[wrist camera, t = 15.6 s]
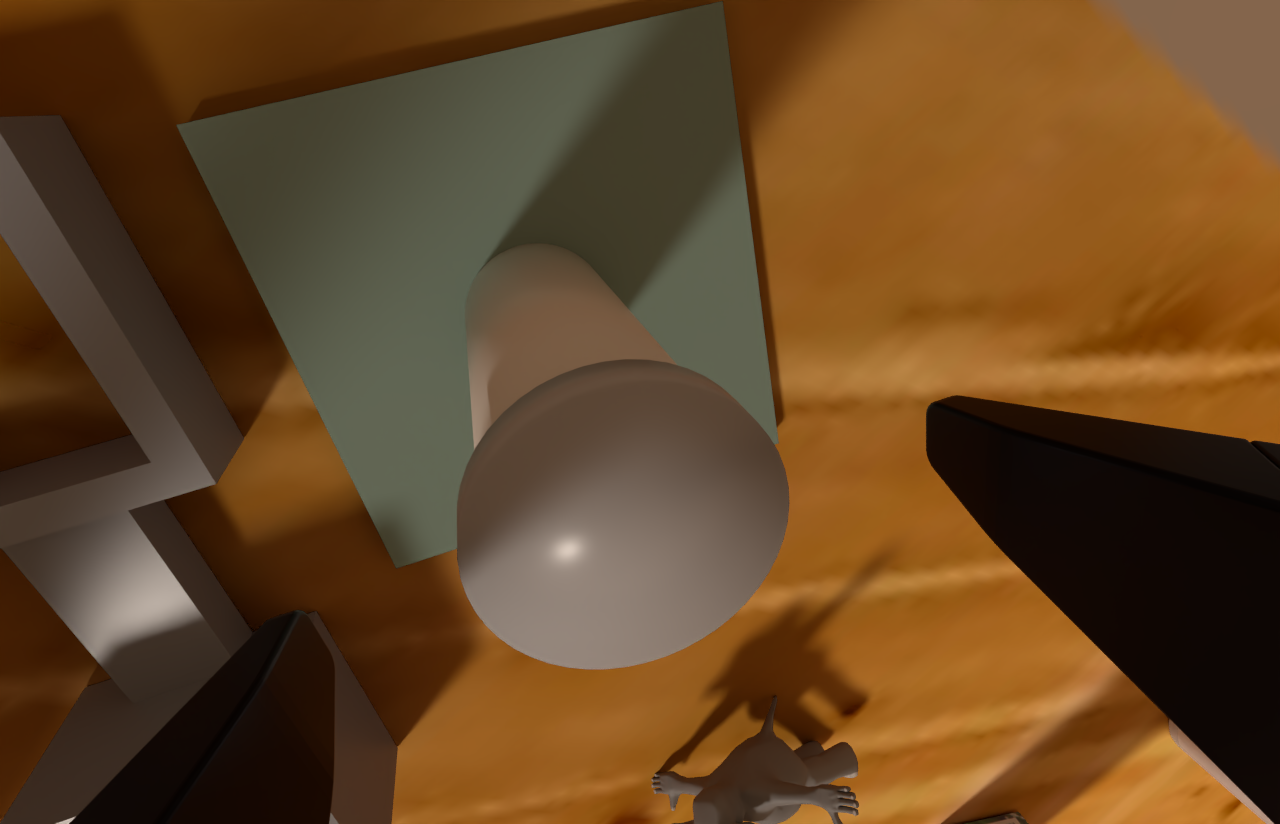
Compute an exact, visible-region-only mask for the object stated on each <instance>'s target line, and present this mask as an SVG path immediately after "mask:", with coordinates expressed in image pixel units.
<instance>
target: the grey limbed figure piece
mask: <svg viewBox="0 0 1280 824" xmlns="http://www.w3.org/2000/svg"><path fill="white" fill-rule="evenodd" d="M776 703H777V697H776V696H774V698H773V700H772V703H771V706H770V709H769V711H768V714H767V717H766V719H765V722H764V724H763V727H762V729H761V731H760V732H759V733H758V734H756V735H755V736H754V737H751V738H748V739H747V740H745V741H744V742H743V743H741V744H740V745H738V746H737V747H736V748H735V749H734V750H733V751H732V752H731V753H730V755H729V756H728V757H727V758H726V759H725V760H724V761H723V762H722V764H721V765H720V766H719V767H718V768H717V769H715V770H714V772H713V773H711V774H710V775H708V776H704V777H695V778H686V777H683V776H681V775H679V774H677V773H675V772H673V771H669V772H662V773H656V774H655V776H656V777H654V778H652V782H655V781H659V782H657V783H656V782H655V783H653V784H652V788H655V787H660V788H657V789H655V790H654V793H655V794H657V793H664V794H668V795H669V798H670V806H671V809H672V811H674V810H675V807H676V804H677V801H678V797H679V796H680V794H682V793H684V794H691V795H696V797H695V799H694V801H693V813H694V820H691V821H688V822H684V823H673V824H754V823H751V822H755V823H760V824H777V823H780V822H783V821H786V820H787V819H788V818H790V817H791V816H793V815H794V814H795V813H796V812H797V811H798V810H799V808H800V806H801V804H813V805H816V806H820V807H822V808H824V809H825V810H827V811H828V813H829V814H830V816H831V818H832V820H833V823H834V824H843V823H842V822H841V820H840V819H839V816H838V812H843V813H850V814H853V815H856V816H857V815H858V810H857V809H855V808H858V807H859V803H858V801H856V800H855V799H856V795H855V793H853V792H849V791H850V790H851V788H850V787H848V786H836V785H831V784H829V783H831V782H832V781H834V780H835V779H837V778H840V777H848V778H853V777H856V776H857V775H858V762H857V758H856V755H855V753H854V751H853V749H852V748H851V746H850V745H849V744H848V743H846V742H840V743H838V744H836V745H834V746H832V747H831V748H829V749H827V750H825V751H824V749H823V748H822V746H821V745H820V744H819V743H818V742H817V741H810V742H808V743H806V744H804V745H802V746H801V747H799V748H797V749H796V750H794V751H793V750H792V749H791V748H790V747H789V746H788V745H787V744H786V743H785V742H784V741H783V740H781V739H780V738H778V737H776V735H775V734H774V732H773V717H774V711H775V707H776ZM658 776H659V777H658ZM845 798H851V799H845ZM841 805H848V806H853V807H854V808H852V807H847V806H841ZM743 821H749V822H743ZM742 822H743V823H742Z"/></svg>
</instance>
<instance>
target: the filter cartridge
mask: <svg viewBox="0 0 1280 824" xmlns="http://www.w3.org/2000/svg"><path fill="white" fill-rule="evenodd" d="M465 326H466V340H467V354H468V369H469V383H470V397H471V411H472V426H473V440H474V452H473V454H472V456H471V458H470V460H469V462H468V464H467V466H466V469H465V472H464V475H463V478H462V481H461V484H460V489H459V495H458V501H457V560H458V566H459V572H460V578H461V581H462V584H463V587H464V590H465V593H466V596H467V597H468V599H469V601H470V603H471V605H472V607H473V608H474V610H475V612H476V613H477V615H478V616H479V617H480V618H481V620H482V621H483V622H484V624H485V625H486V626H487V627H488V628H489V629H490V630H491V631H492V632H493V633H494V634H495V635H497V636H498V637H499V638H500V639H501V640H503V641H504V642H506V643H507V644H508V645H510V646H511V647H513V648H514V649H516V650H518V651H520V652H522V653H524V654H526V655H528V656H530V657H532V658H535V659H538V660H541V661H544V662H547V663H550V664H555V665H559V666H564V667H569V668H579V669H612V668H621V667H628V666H633V665H638V664H642V663H647V662H650V661H653V660H656V659H659V658H662V657H665V656H668V655H670V654H673V653H675V652H677V651H680V650H682V649H684V648H686V647H688V646H690V645H692V644H693V643H695V642H697V641H699V640H701V639H702V638H704V637H705V636H707V635H708V634H710V633H711V632H713V631H715V630H716V629H717V628H719V627H720V626H721V625H722V624H724V623H725V622H726V621H727V620H729V619H730V618H731V617H732V616H733V615H734V614H735V613H736V612H737V611H738V610H739V609H740V608H741V607H742V606H743V605H745V604H746V602H747V601H748V600H749V599H750V598H751V596H752V595H753V594H754V593H755V592H756V590H757V589H758V588H759V586H760V585H761V583H762V582H763V580H764V579H765V577H766V576H767V574H768V573H769V571H770V569H771V567H772V565H773V563H774V561H775V559H776V557H777V555H778V553H779V550H780V547H781V545H782V542H783V539H784V535H785V531H786V526H787V522H788V512H789V488H788V482H787V477H786V472H785V468H784V465H783V463H782V460H781V457H780V455H779V452H778V451H777V449H776V447H775V445H774V444H773V442H772V440H771V438H770V437H769V435H768V434H767V433H766V432H765V431H764V429H763V428H762V427H761V426H760V424H759V423H758V422H757V421H756V420H755V419H754V418H753V417H752V416H751V415H750V414H749V413H748V412H747V411H746V410H745V409H744V408H743V407H742V406H741V405H740V404H739V402H738V401H737V400H736V399H735V398H733V397H732V396H731V395H730V394H729V393H728V392H727V391H726V390H724V389H723V388H722V387H721V386H719V385H718V384H716V383H715V382H713V381H712V380H710V379H709V378H707V377H705V376H703V375H701V374H699V373H697V372H695V371H692V370H690V369H688V368H685V367H681V366H678V365H677V364H676V363H675V362H674V361H673V360H672V358H671V357H670V356H669V355H668V354H667V353H666V352H665V350H664V349H663V348H662V347H661V346H660V345H659V344H658V342H657V341H656V340H655V339H654V338H653V337H652V336H651V334H650V333H649V332H648V331H647V330H646V329H645V328H644V326H643V325H642V324H641V323H640V322H639V321H638V320H637V318H636V317H635V316H634V315H633V314H632V313H631V312H630V310H629V309H628V308H627V307H626V306H625V305H624V304H623V302H622V301H621V300H620V299H619V298H618V297H617V296H616V294H615V293H614V292H613V291H612V290H611V289H610V288H609V286H608V285H607V284H606V283H605V282H604V281H603V280H602V278H601V277H600V276H599V275H598V274H597V273H596V272H595V270H594V269H593V268H592V267H591V266H590V265H589V264H588V263H587V262H586V261H585V260H584V259H583V258H581V257H580V256H578V255H577V254H575V253H573V252H571V251H569V250H567V249H565V248H562V247H559V246H556V245H551V244H543V243H532V244H524V245H519V246H516V247H513V248H510V249H508V250H506V251H504V252H502V253H500V254H498V255H497V256H495V257H494V258H492V259H491V260H490V261H489V262H488V263H487V264H486V265H484V267H483V268H482V269H481V270H480V271H479V273H478V274H477V276H476V277H475V279H474V280H473V282H472V285H471V287H470V289H469V292H468V295H467V299H466V305H465Z"/></svg>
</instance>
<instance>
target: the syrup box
mask: <svg viewBox="0 0 1280 824" xmlns="http://www.w3.org/2000/svg"><path fill="white" fill-rule="evenodd" d="M965 824H1028V823H1027V821H1026V820H1025V819H1024V818H1023V816H1022V815H1021V814H1020V813H1019V812H1015V813H1010V814H1006V815H1001V816H997V817H992V818H988V819H983V820H978V821H974V822H970V823H965Z"/></svg>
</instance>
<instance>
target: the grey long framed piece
mask: <svg viewBox="0 0 1280 824" xmlns="http://www.w3.org/2000/svg"><path fill="white" fill-rule="evenodd" d="M0 234H1V236H2V237H3V239H4V240H5V242H6V243H7V245H8V246H9V248H10V249H11V251H12V252H13V254H14V255H15V257H16V258H17V260H18V261H19V263H20V264H21V266H22V267H23V269H24V270H25V272H26V273H27V275H28V276H29V278H30V280H31V281H32V283H33V284H34V286H35V287H36V289H37V290H38V292H39V293H40V295H41V296H42V298H43V299H44V301H45V302H46V304H47V305H48V307H49V308H50V310H51V311H52V313H53V314H54V316H55V317H56V319H57V320H58V322H59V324H60V325H61V327H62V328H63V330H64V331H65V333H66V334H67V336H68V337H69V339H70V340H71V342H72V343H73V345H74V346H75V348H76V349H77V351H78V352H79V354H80V355H81V357H82V358H83V360H84V361H85V363H86V364H87V366H88V368H89V369H90V371H91V372H92V374H93V375H94V377H95V378H96V380H97V381H98V383H99V384H100V386H101V387H102V389H103V390H104V392H105V393H106V395H107V396H108V398H109V399H110V401H111V402H112V404H113V405H114V407H115V408H116V410H117V412H118V413H119V415H120V416H121V418H122V419H123V421H124V422H125V424H126V425H127V427H128V428H129V430H130V431H131V433H132V435H128V436H125V437H121V438H118V439H114V440H111V441H107V442H104V443H100V444H97V445H93V446H90V447H86V448H83V449H79V450H76V451H72V452H69V453H65V454H62V455H58V456H55V457H51V458H48V459H44V460H41V461H37V462H34V463H30V464H27V465H23V466H20V467H16V468H13V469H9V470H6V471H2V472H0V549H1V548H2V550H3V551H4V552H5V553H6V554H7V555H8V557H9V558H10V559H11V560H12V561H13V562H14V564H15V565H16V566H17V567H18V568H19V570H20V571H21V572H22V573H23V574H24V575H25V577H26V578H27V579H28V580H29V581H30V583H31V584H32V585H33V586H34V587H35V588H36V590H37V591H38V592H39V593H40V594H41V596H42V597H43V598H44V599H45V600H46V601H47V603H48V604H49V605H50V606H51V607H52V609H53V610H54V611H55V612H56V613H57V614H58V616H59V617H60V618H61V619H62V620H63V622H64V623H65V624H66V625H67V626H68V627H69V629H70V630H71V631H72V632H73V633H74V635H75V636H76V637H77V638H78V639H79V640H80V642H81V643H82V644H83V645H84V646H85V648H86V649H87V650H88V651H89V652H90V653H91V655H92V656H93V657H94V658H95V659H96V660H97V662H98V663H99V664H100V665H101V666H102V668H103V669H104V670H105V671H106V672H107V673H108V675H109V676H110V677H111V678H112V679H110V680H107V681H104V682H101V683H97V684H94V685H91V686H88V687H85V689H84V690H83V692H82V693H81V695H80V697H79V698H78V700H77V701H76V703H75V705H74V706H73V708H72V709H71V711H70V713H69V714H68V716H67V717H66V719H65V721H64V722H63V724H62V725H61V727H60V728H59V730H58V732H57V733H56V735H55V736H54V738H53V740H52V741H51V743H50V744H49V746H48V748H47V749H46V751H45V752H44V754H43V756H42V757H41V759H40V760H39V762H38V764H37V765H36V767H35V768H34V770H33V772H32V773H31V775H30V776H29V778H28V780H27V781H26V783H25V784H24V786H23V788H22V789H21V791H20V792H19V794H18V795H17V797H16V799H15V800H14V802H13V803H12V805H11V807H10V808H9V810H8V811H7V813H6V815H5V816H4V818H3V819H2V821H1V823H0V824H69V823H70V822H71V821H72V820H73V819H74V818H75V817H76V816H77V815H78V814H79V813H80V812H81V811H82V810H83V809H84V808H85V807H86V806H87V805H88V804H89V802H90V801H91V800H92V799H93V798H94V797H95V796H96V795H97V794H98V793H99V792H100V791H101V790H102V789H103V788H104V787H105V786H106V785H107V784H108V783H109V782H110V781H111V780H112V779H113V778H114V777H115V776H116V775H117V774H118V773H119V772H120V771H121V770H122V769H123V768H124V767H125V765H126V764H127V763H128V762H129V761H130V760H131V759H132V758H133V757H134V756H135V755H136V754H137V753H138V752H139V751H140V750H141V749H142V748H143V747H144V746H145V745H146V744H147V743H148V742H149V741H150V740H151V739H152V738H153V737H154V736H155V735H156V734H157V733H158V732H159V731H160V729H161V728H162V727H163V726H164V725H165V724H166V723H167V722H168V721H169V720H170V719H171V718H172V717H173V716H174V715H175V714H176V713H177V712H178V711H179V710H180V709H181V708H182V707H183V706H184V705H185V704H186V703H187V702H188V701H189V700H190V699H191V698H192V697H193V696H194V695H195V694H196V692H197V691H198V690H199V689H200V688H201V687H202V686H203V685H204V684H205V683H206V682H207V681H208V680H209V679H210V678H211V677H212V676H213V675H214V674H215V673H216V672H217V671H218V670H219V669H220V668H221V667H222V666H223V665H224V664H225V663H226V662H227V661H228V660H229V659H230V658H231V656H232V655H233V654H234V653H235V652H236V651H237V650H238V649H239V648H240V647H241V646H242V645H243V644H244V643H245V642H246V641H247V640H248V639H249V638H250V637H251V636H252V635H253V634H254V633H255V632H256V631H254V632H252V631H251V630H250V628H249V627H248V625H247V624H246V622H245V621H244V619H243V618H242V616H241V615H240V613H239V612H238V610H237V609H236V607H235V606H234V604H233V603H232V601H231V600H230V598H229V597H228V595H227V594H226V592H225V591H224V589H223V588H222V586H221V585H220V583H219V582H218V580H217V579H216V577H215V576H214V574H213V573H212V571H211V570H210V568H209V567H208V565H207V564H206V562H205V561H204V559H203V558H202V556H201V555H200V553H199V552H198V550H197V549H196V547H195V546H194V544H193V543H192V541H191V540H190V538H189V537H188V535H187V534H186V532H185V531H184V529H183V528H182V526H181V525H180V524H179V522H178V521H177V519H176V518H175V516H174V515H173V513H172V512H171V510H170V509H169V507H168V506H167V504H166V503H165V501H164V499H168V498H171V497H174V496H178V495H181V494H184V493H188V492H191V491H194V490H198V489H201V488H204V487H208V486H211V485H214V484H216V483H217V482H218V480H219V479H220V477H221V475H222V474H223V472H224V471H225V469H226V467H227V466H228V464H229V462H230V461H231V459H232V458H233V456H234V454H235V453H236V451H237V449H238V448H239V446H240V445H241V443H242V441H243V440H244V437H243V436H242V434H241V432H240V430H239V429H238V427H237V425H236V423H235V422H234V420H233V418H232V416H231V415H230V413H229V411H228V409H227V408H226V406H225V404H224V402H223V400H222V399H221V397H220V395H219V393H218V392H217V390H216V388H215V386H214V385H213V383H212V381H211V379H210V378H209V376H208V374H207V372H206V371H205V369H204V367H203V365H202V364H201V362H200V360H199V358H198V357H197V355H196V353H195V351H194V349H193V348H192V346H191V344H190V342H189V341H188V339H187V337H186V335H185V334H184V332H183V330H182V328H181V327H180V325H179V323H178V321H177V320H176V318H175V316H174V314H173V313H172V311H171V309H170V307H169V306H168V304H167V302H166V300H165V299H164V297H163V295H162V293H161V291H160V290H159V288H158V286H157V284H156V283H155V281H154V279H153V277H152V276H151V274H150V272H149V270H148V269H147V267H146V265H145V263H144V262H143V260H142V258H141V256H140V255H139V253H138V251H137V249H136V248H135V246H134V244H133V242H132V241H131V239H130V237H129V235H128V233H127V232H126V230H125V228H124V226H123V225H122V223H121V221H120V219H119V218H118V216H117V214H116V212H115V211H114V209H113V207H112V205H111V204H110V202H109V200H108V198H107V197H106V195H105V193H104V191H103V190H102V188H101V186H100V184H99V183H98V181H97V179H96V177H95V175H94V174H93V172H92V170H91V168H90V167H89V165H88V163H87V161H86V160H85V158H84V156H83V154H82V153H81V151H80V149H79V147H78V146H77V144H76V142H75V140H74V139H73V137H72V135H71V133H70V132H69V130H68V128H67V126H66V124H65V123H64V121H63V119H62V117H61V116H60V115H49V116H12V117H0ZM307 615H308V616H309V617H310V619H311V620H312V622H313V624H314V625H315V627H316V629H317V630H318V632H319V634H320V635H321V637H322V639H323V640H324V642H325V644H326V645H327V647H328V649H329V650H330V652H331V654H332V657H333V660H334V665H335V764H334V785H333V796H332V805H331V813H330V821H329V824H391V822H392V810H393V798H394V786H395V773H396V761H397V749H398V748H397V746H396V745H395V743H394V741H393V740H392V738H391V736H390V734H389V733H388V731H387V729H386V728H385V726H384V724H383V723H382V721H381V719H380V718H379V716H378V714H377V713H376V711H375V709H374V708H373V706H372V704H371V702H370V701H369V699H368V697H367V696H366V694H365V692H364V691H363V689H362V687H361V686H360V684H359V682H358V681H357V679H356V677H355V676H354V674H353V672H352V671H351V669H350V667H349V665H348V664H347V662H346V660H345V659H344V657H343V655H342V654H341V652H340V650H339V649H338V647H337V645H336V644H335V642H334V640H333V639H332V637H331V635H330V633H329V632H328V630H327V628H326V627H325V625H324V623H323V622H322V620H321V618H320V617H319V615H318V613H317V612H316V611H315V612H312V613H309V614H307Z"/></svg>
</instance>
